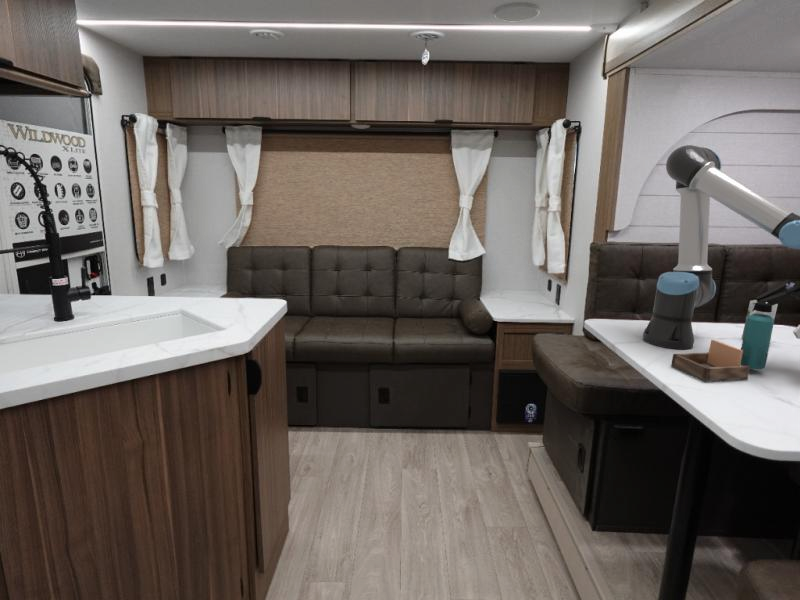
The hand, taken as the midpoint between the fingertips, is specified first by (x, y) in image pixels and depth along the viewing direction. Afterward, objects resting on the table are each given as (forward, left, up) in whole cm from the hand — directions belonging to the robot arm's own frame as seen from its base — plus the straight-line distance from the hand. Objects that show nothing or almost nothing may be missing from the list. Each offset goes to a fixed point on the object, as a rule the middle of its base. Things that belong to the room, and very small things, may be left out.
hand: (771, 328), depth 137 cm
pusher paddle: (+12, -6, -12) cm, 18 cm away
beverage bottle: (+2, -2, -13) cm, 14 cm away
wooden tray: (+16, -7, -13) cm, 22 cm away
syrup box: (-34, -15, -13) cm, 39 cm away
